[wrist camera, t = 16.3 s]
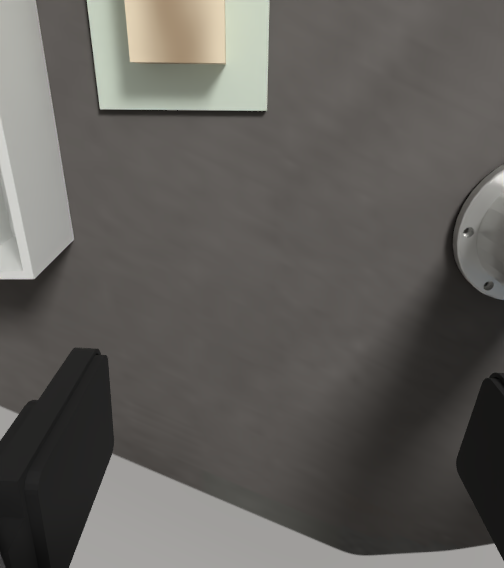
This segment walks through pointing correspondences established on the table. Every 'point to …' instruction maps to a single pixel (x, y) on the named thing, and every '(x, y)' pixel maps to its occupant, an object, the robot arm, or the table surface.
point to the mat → (183, 65)
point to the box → (28, 151)
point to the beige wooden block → (176, 31)
